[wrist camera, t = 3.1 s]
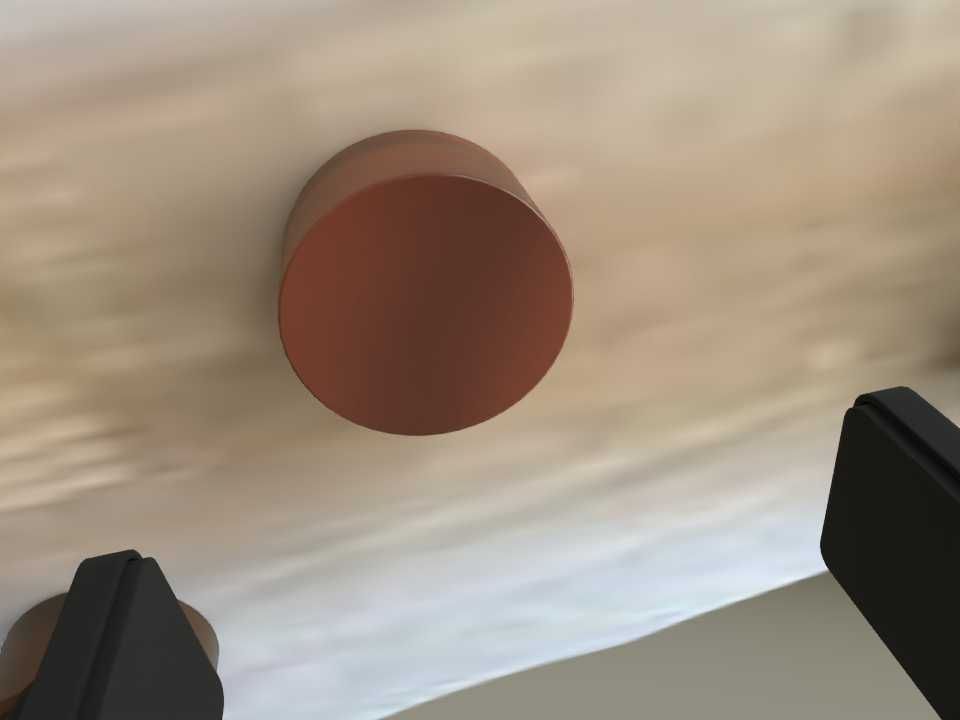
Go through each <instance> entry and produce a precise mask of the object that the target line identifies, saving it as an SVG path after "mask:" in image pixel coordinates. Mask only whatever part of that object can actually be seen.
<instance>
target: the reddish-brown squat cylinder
mask: <svg viewBox="0 0 960 720" xmlns="http://www.w3.org/2000/svg"><path fill="white" fill-rule="evenodd" d="M573 303H574V289H573V278H572V273H571V268H570V264H569V261H568V258H567V255H566V252H565V249H564V248H563V246H562V244H561V242H560V240H559V238H558V236H557V234H556V233H555V231H554V230H553V229H552V227H551V226H550V224H549V223H548V222H547V220H546V219H545V217H544V216H543V215H542V213H541V212H540V210H539V209H538V208H537V206H536V205H535V203H534V202H533V201H532V199H531V198H530V196H529V195H528V194H527V192H526V191H525V189H524V188H523V187H522V185H521V184H520V183H519V181H518V180H517V178H516V177H515V176H514V174H513V173H512V172H511V171H510V170H509V169H508V168H507V167H506V166H505V165H504V164H503V163H502V162H501V161H500V160H499V159H497V158H496V157H495V156H493V155H492V154H491V153H490V152H488V151H487V150H485V149H483V148H481V147H480V146H478V145H476V144H474V143H473V142H470V141H467V140H465V139H462V138H460V137H457V136H454V135H450V134H446V133H442V132H436V131H426V130H402V131H396V132H390V133H384V134H380V135H377V136H374V137H371V138H367V139H365V140H363V141H360V142H358V143H356V144H354V145H352V146H349V147H348V148H346V149H345V150H343V151H342V152H340V153H338V154H337V155H335V156H334V157H333V158H331V159H330V160H329V161H328V162H327V163H325V164H324V165H323V166H322V167H321V168H320V169H319V170H318V171H317V172H316V173H315V174H314V175H313V177H312V178H311V179H310V180H309V181H308V182H307V184H306V185H305V187H304V188H303V190H302V191H301V193H300V194H299V196H298V198H297V200H296V202H295V204H294V206H293V208H292V210H291V213H290V217H289V220H288V223H287V226H286V232H285V238H284V246H283V256H282V266H281V276H280V286H279V297H278V324H279V331H280V337H281V341H282V344H283V347H284V350H285V354H286V356H287V358H288V360H289V362H290V364H291V366H292V368H293V370H294V371H295V373H296V374H297V376H298V377H299V379H300V380H301V382H302V383H303V384H304V386H305V387H306V388H307V389H308V390H309V391H310V392H311V393H312V394H313V395H314V397H316V398H317V399H318V400H319V401H320V402H321V403H323V404H324V405H325V406H326V407H327V408H329V409H330V410H332V411H334V412H335V413H337V414H338V415H340V416H341V417H343V418H345V419H347V420H349V421H351V422H353V423H356V424H358V425H361V426H364V427H366V428H369V429H372V430H376V431H381V432H385V433H390V434H398V435H407V436H426V435H436V434H444V433H449V432H454V431H459V430H462V429H465V428H468V427H471V426H475V425H477V424H479V423H482V422H484V421H486V420H489V419H491V418H493V417H495V416H497V415H498V414H500V413H502V412H504V411H505V410H507V409H508V408H510V407H511V406H513V405H514V404H516V403H517V402H518V401H520V400H521V399H522V398H523V397H524V396H526V395H527V394H528V393H529V392H530V391H531V390H532V389H533V388H534V387H535V386H536V385H537V384H538V383H539V382H540V381H541V379H542V378H543V377H544V376H545V375H546V373H547V372H548V371H549V369H550V368H551V366H552V365H553V363H554V362H555V360H556V358H557V356H558V355H559V353H560V351H561V349H562V347H563V344H564V342H565V339H566V337H567V334H568V331H569V327H570V322H571V318H572V312H573Z"/></svg>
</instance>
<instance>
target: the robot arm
mask: <svg viewBox="0 0 960 720" xmlns="http://www.w3.org/2000/svg"><path fill="white" fill-rule="evenodd" d="M820 549H821V554H822V557H823V560H824V562H825V564H826V566H827V568H828V569H829V571H830V572H831V573H832V574H833V576H834V577H835V579H836V580H837V581H838V583H839V584H840V585H841V587H842V588H843V589H844V590H845V592H846V593H847V594H848V596H849V597H850V598H851V600H852V601H853V602H854V604H855V605H856V606H857V608H858V609H859V610H860V612H861V613H862V614H863V616H864V617H865V618H866V620H867V621H868V622H869V624H870V625H871V626H872V628H873V629H874V630H875V631H876V633H877V634H878V636H879V637H880V638H881V640H882V641H883V642H884V643H885V645H886V646H887V647H888V649H889V650H890V652H891V653H892V654H893V655H894V657H895V658H896V659H897V661H898V662H899V663H900V665H901V666H902V667H903V669H904V670H905V671H906V673H907V674H908V675H909V677H910V678H911V679H912V681H913V682H914V683H915V685H916V686H917V687H918V689H919V690H920V691H921V693H922V694H923V695H924V697H925V698H926V699H927V701H928V702H929V703H930V705H931V706H932V707H933V709H934V710H935V711H936V713H937V714H938V715H939V717H940V718H941V719H942V720H960V428H959V427H957V426H956V425H955V424H954V423H952V422H951V421H950V420H949V419H948V418H946V417H945V416H944V415H943V414H942V413H940V412H939V411H938V410H937V409H935V408H934V407H933V406H932V405H931V404H929V403H928V402H927V401H926V400H925V399H923V398H922V397H921V396H920V395H918V394H917V393H916V392H915V391H913V390H912V389H910V388H908V387H903V386H899V387H895V388H890V389H885V390H881V391H876V392H871V393H866V394H863V395H860V396H859V397H858V398H857V399H856V400H855V403H854V406H853V407H852V408H849V409H848V410H847V411H846V413H845V416H844V421H843V426H842V431H841V436H840V442H839V447H838V452H837V457H836V462H835V468H834V473H833V478H832V483H831V488H830V494H829V499H828V504H827V509H826V514H825V520H824V525H823V530H822V535H821V540H820ZM223 708H224V695H223V688H222V684H221V681H220V678H219V676H218V675H217V673H216V671H215V669H214V667H213V665H212V663H211V662H210V660H209V658H208V656H207V654H206V652H205V650H204V649H203V647H202V645H201V643H200V641H199V639H198V638H197V636H196V634H195V632H194V630H193V628H192V626H191V625H190V623H189V621H188V619H187V617H186V615H185V613H184V612H183V610H182V608H181V606H180V604H179V602H178V600H177V599H176V597H175V595H174V593H173V591H172V589H171V587H170V586H169V584H168V582H167V580H166V578H165V576H164V574H163V573H162V571H161V569H160V567H159V565H158V563H157V562H156V561H155V559H153V558H152V557H148V558H142V557H141V555H140V554H139V553H138V552H137V551H135V550H134V549H132V550H126V551H121V552H116V553H111V554H107V555H102V556H97V557H93V558H88V559H85V560H84V561H83V562H81V564H80V566H79V567H78V569H77V572H76V574H75V577H74V579H73V582H72V584H71V587H70V589H69V592H68V595H67V597H66V600H65V602H64V605H63V607H62V610H61V613H60V615H59V618H58V620H57V623H56V625H55V628H54V630H53V633H52V636H51V638H50V641H49V643H48V646H47V648H46V651H45V653H44V656H43V659H42V661H41V664H40V666H39V669H38V671H37V674H36V677H35V679H34V681H31V682H30V683H29V684H28V685H27V686H26V687H25V688H24V689H23V690H22V692H21V694H20V696H19V698H18V700H17V702H16V703H15V706H14V708H13V711H12V713H11V716H10V718H9V720H222V716H223Z"/></svg>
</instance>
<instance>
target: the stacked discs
mask: <svg viewBox="0 0 960 720" xmlns="http://www.w3.org/2000/svg"><path fill="white" fill-rule="evenodd" d="M67 595H68V593H65V594H62V595H58V596H55V597H53V598H51V599H48V600H46V601H44V602H42V603H40V604H38V605H37V606H35V607H33V608H32V609H30V610H29V611H28V612H26V613H25V614H24V615H22V616H21V617H20V619H19V620H18V621H17V622H16V623H15V624H14V625H13V627H12V628H11V630H10V631H9V633H8V635H7V638H6V640H5V643H4V645H3V647H2V650H1V652H0V720H9V718H10V716H11V713H12V711H13V708H14V706H15V703H16V702H17V700H18V698H19V696H20V694H21V692H22V690H23V689H24V688H25V687H26V686H27V685H28V684H29V683H30V682H31V681H34V679H35V677H36V674H37V671H38V669H39V666H40V664H41V661H42V659H43V656H44V653H45V651H46V648H47V646H48V643H49V641H50V638H51V636H52V633H53V630H54V628H55V625H56V623H57V620H58V618H59V615H60V613H61V610H62V607H63V605H64V602H65V600H66V597H67ZM178 602H179V604H180V606H181V608H182V610H183V612H184V613H185V615H186V617H187V619H188V621H189V623H190V625H191V626H192V628H193V630H194V632H195V634H196V636H197V638H198V639H199V641H200V643H201V645H202V647H203V649H204V650H205V652H206V654H207V656H208V658H209V660H210V662H211V663H212V665H213V667H214V669H215V671H216V672H217V664H218V656H219V644H218V640H217V637H216V634H215V632H214V630H213V628H212V627H211V625H210V624H209V623H208V621H207V620H206V619H205V618H204V617H203V616H202V615H201V614H200V613H198V612H197V611H196V610H194V609H193V608H191V607H190V606H188V605H186V604H185V603H183V602H181V601H179V600H178Z"/></svg>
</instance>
